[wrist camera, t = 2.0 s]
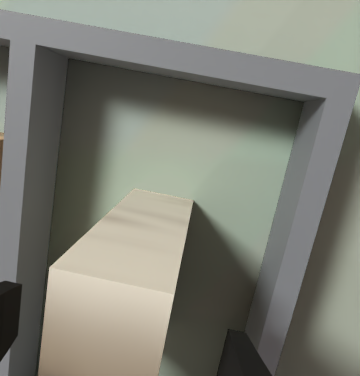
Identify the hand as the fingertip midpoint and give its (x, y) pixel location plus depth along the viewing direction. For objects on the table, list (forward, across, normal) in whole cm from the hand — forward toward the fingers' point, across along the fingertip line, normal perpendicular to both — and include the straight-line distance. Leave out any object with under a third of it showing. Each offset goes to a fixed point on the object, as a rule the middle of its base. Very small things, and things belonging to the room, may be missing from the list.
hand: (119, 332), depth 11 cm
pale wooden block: (+6, 0, 0) cm, 6 cm away
